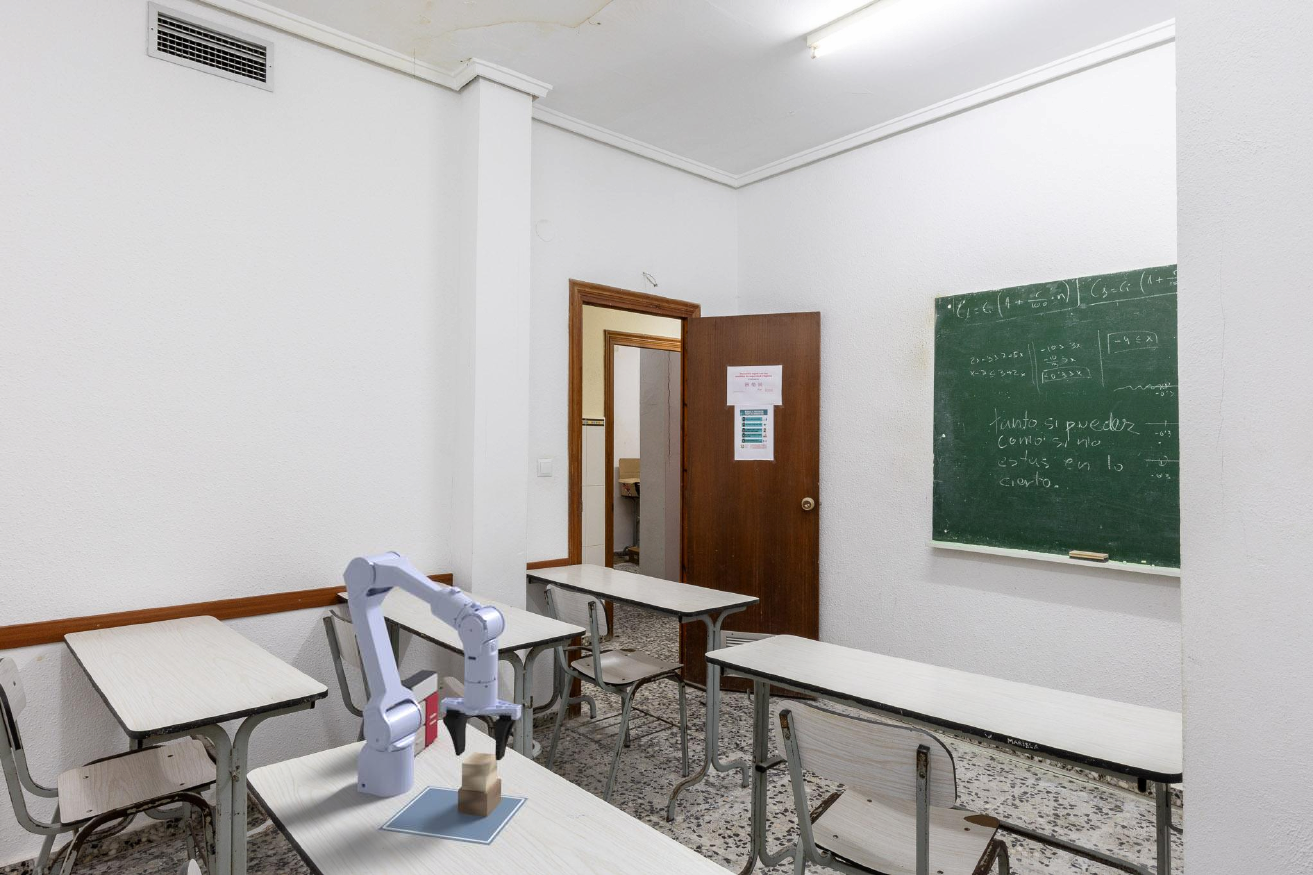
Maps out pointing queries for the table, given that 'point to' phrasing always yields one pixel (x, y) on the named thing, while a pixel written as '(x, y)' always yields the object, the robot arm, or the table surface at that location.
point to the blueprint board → (451, 817)
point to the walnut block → (479, 800)
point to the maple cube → (479, 772)
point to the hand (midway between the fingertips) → (480, 755)
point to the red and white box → (425, 706)
